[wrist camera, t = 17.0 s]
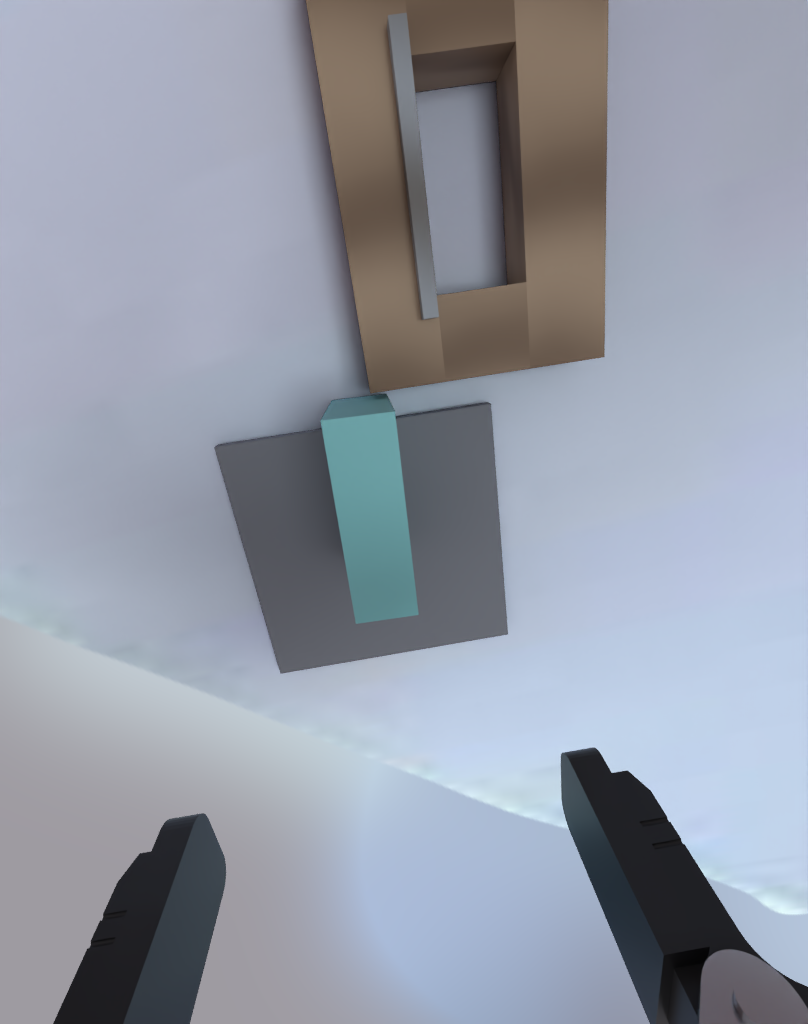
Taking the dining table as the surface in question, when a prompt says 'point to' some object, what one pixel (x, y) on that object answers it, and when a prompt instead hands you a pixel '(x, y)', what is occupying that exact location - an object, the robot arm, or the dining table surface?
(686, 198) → the dining table surface
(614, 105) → the dining table surface
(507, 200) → the brown wooden frame
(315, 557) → the mat
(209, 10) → the dining table surface
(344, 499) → the teal rectangular prism
